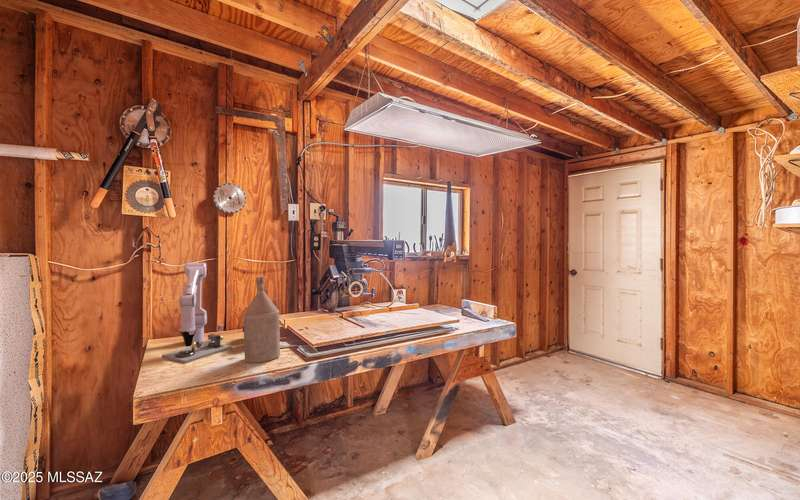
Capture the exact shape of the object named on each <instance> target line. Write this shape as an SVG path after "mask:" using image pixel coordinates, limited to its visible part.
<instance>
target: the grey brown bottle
mask: <svg viewBox="0 0 800 500" xmlns="http://www.w3.org/2000/svg"><path fill="white" fill-rule="evenodd" d="M255 282H256V294H255V296H254V298H253V299H252V300H251V303H250V304H249V306H248V307H247V309H246V310H245V312H244V313H243V314H242V319H243V321H244V323H243V325H244V332H243V346H244V348H243V349H244V361H245V362H246V363H249V364H250V363H251V364H253V363H255V364H256V363H263V362H269V361H272V360H275V359H277V358H278V357H280V356H281V343H280V342H281V341H280V340H281V339H280V338H281V333H280V331H281V329H280V309H278V308H280V306H281V305H282V300H281V298H279V297H274V298H273V299H272V300H271V299H270V297H269V296H268V295H267V294H268V293H269V289H268V285H269V283H268V282H266V283H264V282H265V275H259V276H255ZM266 285H267V286H266ZM264 287H266V288H264ZM275 300H279V305H278V306H277V305H276V304H275V303H274V301H275Z"/></svg>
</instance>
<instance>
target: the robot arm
mask: <svg viewBox="0 0 800 500" xmlns="http://www.w3.org/2000/svg"><path fill="white" fill-rule="evenodd" d="M207 269H208V268H207V263H206V262H186V263H185V264H184V274H185V276H186V277H187V283H185V284H184V286H183V291H182V294H181V296H179V299H178V300H179V301H178V303H179V310H180V316H181V317H180V320H181V321H180V323H181V325H180V326H181V328H178V331H181V332H180V334H181V336H182V338H183V344H185V348H188V347H192V342H195V345H196V342H199V341H200V342H202V341H206V340H207V339H205V325H207V323H208V313H207V310H206V309H204V308H203V307H202V284H203V283H202V282H203V279H205V278H207V271H208V270H207Z"/></svg>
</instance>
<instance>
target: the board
mask: <svg viewBox="0 0 800 500" xmlns="http://www.w3.org/2000/svg"><path fill="white" fill-rule="evenodd" d="M206 345H208V344H206ZM220 345H223V347H220V348H217V349H215V348H211V347H206V346H205V345H203V346H201V347H199V348H197V347H196V344H195V354H194V355H192V356H188V357H175V354H176V353H178V352H180V351H186V350H192V346H189V347H185V348H181V349H178V350H175V351H171V352H167V353H164V354H162V355H161V358H162V359H166V360H171V361H174V362H177V361H178V362H179V363H182V364H188V363H192V362H195V361H197V360H201V359H203V358H207V357H210V356H212V355H216V354H219V353H222V352H225V351H228V350H231V349H232V346H231V345H227V344H222V343H220Z"/></svg>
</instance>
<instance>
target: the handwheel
mask: <svg viewBox="0 0 800 500" xmlns="http://www.w3.org/2000/svg"><path fill="white" fill-rule="evenodd" d="M195 345H196V344H195V342H192V344H191V347H192V350H186V351H180V352H178V353H176V354H175V357H188V356H192V355H194V354H195Z"/></svg>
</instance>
